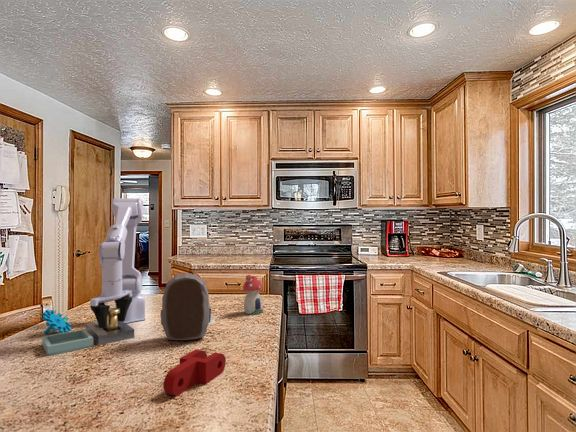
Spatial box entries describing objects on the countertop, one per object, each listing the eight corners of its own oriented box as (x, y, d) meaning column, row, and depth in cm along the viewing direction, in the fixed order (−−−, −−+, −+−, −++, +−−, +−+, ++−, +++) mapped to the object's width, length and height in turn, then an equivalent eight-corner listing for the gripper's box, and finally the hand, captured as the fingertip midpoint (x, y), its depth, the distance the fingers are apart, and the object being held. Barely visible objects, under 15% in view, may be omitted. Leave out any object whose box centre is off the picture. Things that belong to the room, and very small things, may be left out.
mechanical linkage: (200, 366, 91) (200, 346, 91) (225, 371, 88) (225, 350, 88) (154, 395, 76) (154, 371, 76) (182, 402, 73) (182, 377, 73)
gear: (60, 333, 112) (39, 309, 112) (45, 347, 111) (23, 323, 112) (80, 327, 123) (60, 306, 123) (66, 340, 122) (46, 319, 123)
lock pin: (117, 333, 116) (117, 307, 116) (121, 337, 113) (121, 309, 113) (102, 336, 113) (102, 309, 113) (106, 340, 110) (106, 312, 110)
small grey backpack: (158, 344, 106) (158, 275, 107) (163, 335, 115) (163, 271, 115) (211, 341, 109) (211, 273, 109) (212, 332, 117) (212, 270, 117)
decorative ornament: (248, 316, 136) (248, 276, 136) (238, 313, 140) (238, 274, 141) (267, 312, 142) (267, 273, 142) (257, 309, 147) (256, 271, 147)
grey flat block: (118, 325, 125) (118, 312, 125) (134, 337, 112) (134, 323, 112) (85, 331, 118) (85, 318, 118) (98, 344, 106) (98, 330, 106)
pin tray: (84, 337, 113) (84, 329, 113) (93, 346, 104) (93, 337, 104) (41, 345, 106) (41, 336, 106) (47, 356, 97) (47, 346, 97)
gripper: (119, 276, 121) (119, 317, 121) (82, 283, 107) (82, 329, 107) (136, 277, 119) (137, 318, 119) (100, 284, 105) (101, 332, 105)
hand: (112, 324), depth 113 cm, fingers open, 7 cm apart
